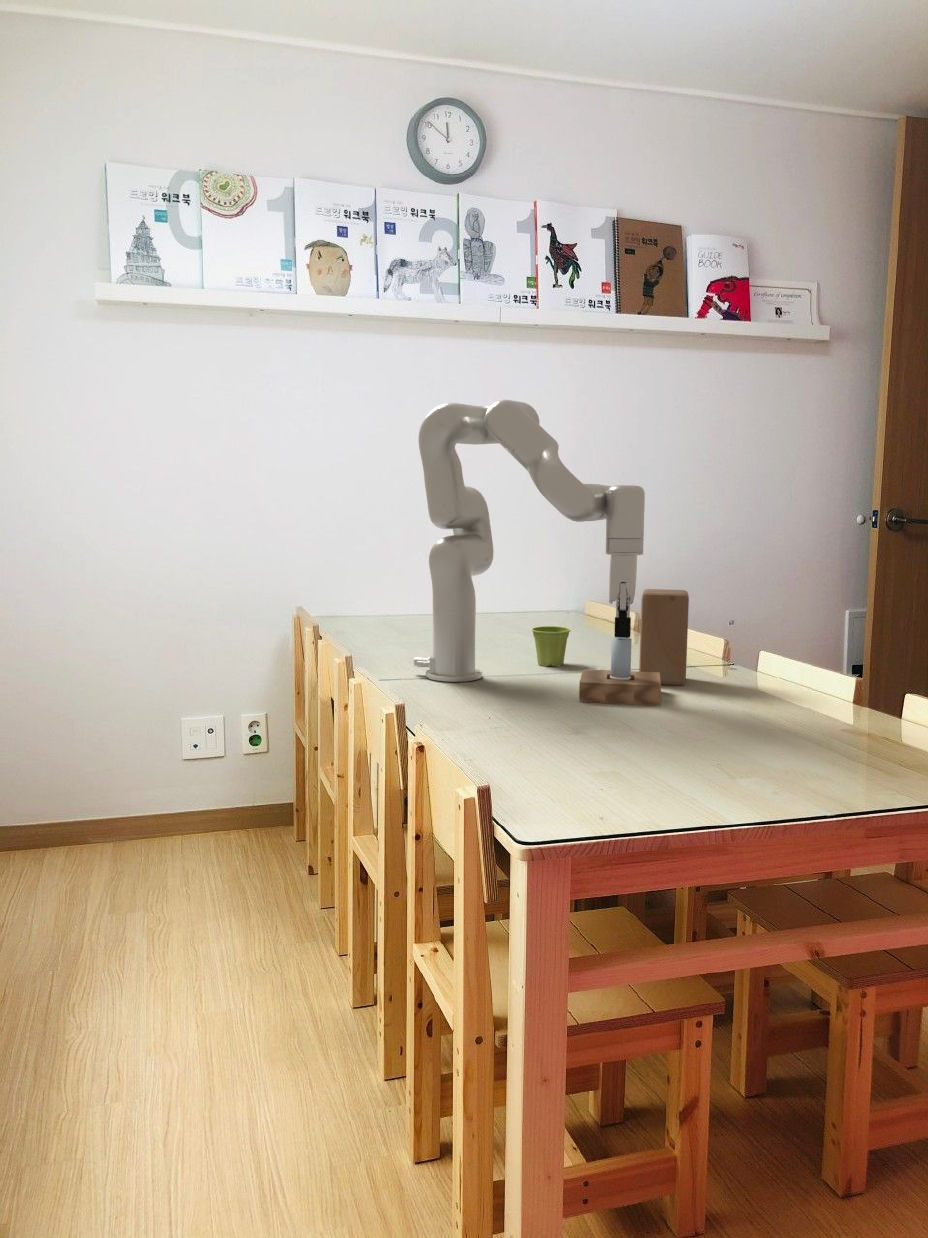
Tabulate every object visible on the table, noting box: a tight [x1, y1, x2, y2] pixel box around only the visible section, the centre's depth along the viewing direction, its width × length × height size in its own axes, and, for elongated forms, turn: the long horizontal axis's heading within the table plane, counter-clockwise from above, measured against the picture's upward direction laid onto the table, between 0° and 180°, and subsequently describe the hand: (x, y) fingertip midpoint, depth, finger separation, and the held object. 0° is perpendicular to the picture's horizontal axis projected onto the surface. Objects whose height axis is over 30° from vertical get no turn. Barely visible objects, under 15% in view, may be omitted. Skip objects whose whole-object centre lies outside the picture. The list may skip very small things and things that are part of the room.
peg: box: [610, 636, 632, 680], centre depth 208 cm, size 4×4×12 cm
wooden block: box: [638, 588, 690, 686], centre depth 223 cm, size 10×10×20 cm
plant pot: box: [530, 625, 572, 667], centre depth 243 cm, size 9×9×9 cm
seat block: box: [578, 669, 662, 706], centre depth 208 cm, size 16×14×4 cm
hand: (622, 636), depth 207 cm, fingers closed
